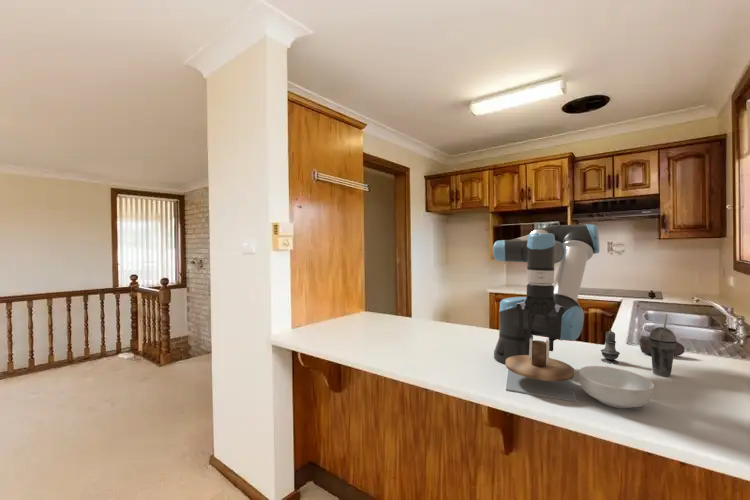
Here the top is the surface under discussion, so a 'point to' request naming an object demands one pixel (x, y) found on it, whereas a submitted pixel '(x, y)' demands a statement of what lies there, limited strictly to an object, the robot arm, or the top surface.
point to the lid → (540, 365)
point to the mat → (540, 387)
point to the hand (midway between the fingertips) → (538, 360)
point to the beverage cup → (662, 350)
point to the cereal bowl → (616, 386)
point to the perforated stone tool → (646, 346)
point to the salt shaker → (610, 348)
